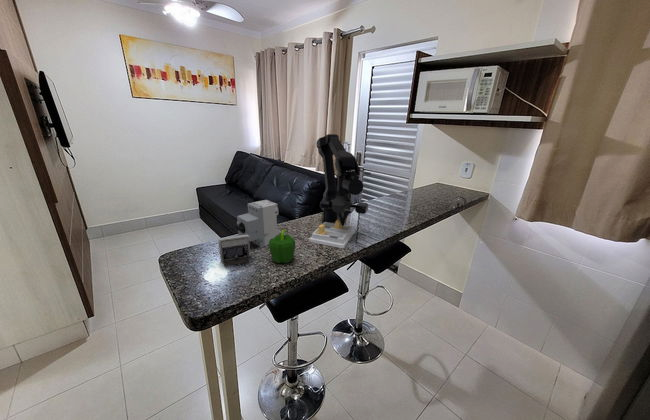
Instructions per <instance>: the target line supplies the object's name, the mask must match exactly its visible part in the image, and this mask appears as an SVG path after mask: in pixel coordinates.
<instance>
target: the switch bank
mask: <svg viewBox="0 0 650 420" xmlns="http://www.w3.org/2000/svg"><path fill="white" fill-rule="evenodd" d="M322 225H325V231H326V235H323V234H317V232H318V228H316V230H314V231H313V232H312V233H311V237H309V238H308V242H309V243H310V242H311V243H314V244H319V245H324V246H328V247H329V246H330V247H335V248H338V249H339V248H340V249H345V247H346V246H347V244H348V243H349V242H348V241H350V240H351V239H352V237H353V236H354V235H355V233H356V230H355V229H354V226H351V225H346V224H344V226H343V229H337V228H333V227H334V226H335V223H329V222H322ZM341 226H342V225H341ZM354 232H355V233H354ZM353 234H354V235H353ZM352 235H353V236H352ZM350 238H351V239H350Z"/></svg>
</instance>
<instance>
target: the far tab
mask: <svg viewBox="0 0 650 420" xmlns="http://www.w3.org/2000/svg"><path fill="white" fill-rule="evenodd" d="M333 228H337V229H343V226H341V222H340V219H337V220H336V221H335V226H334V227H333Z"/></svg>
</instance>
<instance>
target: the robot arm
mask: <svg viewBox="0 0 650 420" xmlns="http://www.w3.org/2000/svg"><path fill="white" fill-rule="evenodd" d="M316 148H317V151H318V154H319V155H320V157H321V158H322V165H323V172H324V183H325V191H324V192H323V194H322V197H323V198H322V199H321V200H320V201H319V208H320V209H321V210H322V212H323V214H322V217H323V218H322V220H321V223H324V222H329V223H335V221H336V220H337V219H339V220H340V222H341V225H342V226H344V225H346V222H347V220H348V218H349V215H351V214H352V213H353V212H354V211H355V213H357V214H360V215H362V214H363V215H364V214H367V212H368V211H369V203H366V202H361V201H359V202H357V203H356V204H355V203H353V202H352V201H353V200H352V196H357V195H359V194H361V193H362V192H363V189H364V183H363V181H362V180H361V179H360V178H359V177H360V171H361V170H360V167H359V163H358V161H357V158H356V156H355V155H354V154H352V153H351V152H349V151H347V150H346V148H345V147H344V145H343V143H342V141H341V140H340V136H339V134H336V133H328V134H326V135H325V136H322V137H319V138H318V139H317V140H316ZM334 158H335V160H334ZM335 169H336V170H335ZM335 171H336V172H337V173H336V175H337V181H336V175H335Z"/></svg>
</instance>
